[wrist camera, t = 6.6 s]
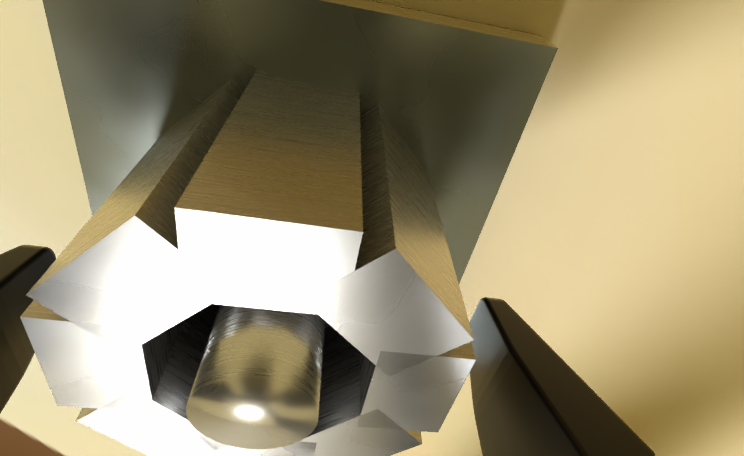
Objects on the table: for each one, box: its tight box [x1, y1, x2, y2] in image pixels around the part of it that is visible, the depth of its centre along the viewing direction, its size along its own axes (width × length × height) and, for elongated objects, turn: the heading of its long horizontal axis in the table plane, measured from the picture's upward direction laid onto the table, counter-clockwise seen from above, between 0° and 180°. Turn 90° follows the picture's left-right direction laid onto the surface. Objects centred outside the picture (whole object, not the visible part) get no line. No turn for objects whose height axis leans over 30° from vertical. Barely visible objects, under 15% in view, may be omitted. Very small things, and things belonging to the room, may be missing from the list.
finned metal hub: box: [43, 0, 558, 449], centre depth 8 cm, size 9×9×6 cm
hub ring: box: [20, 74, 476, 456], centre depth 8 cm, size 6×6×4 cm
